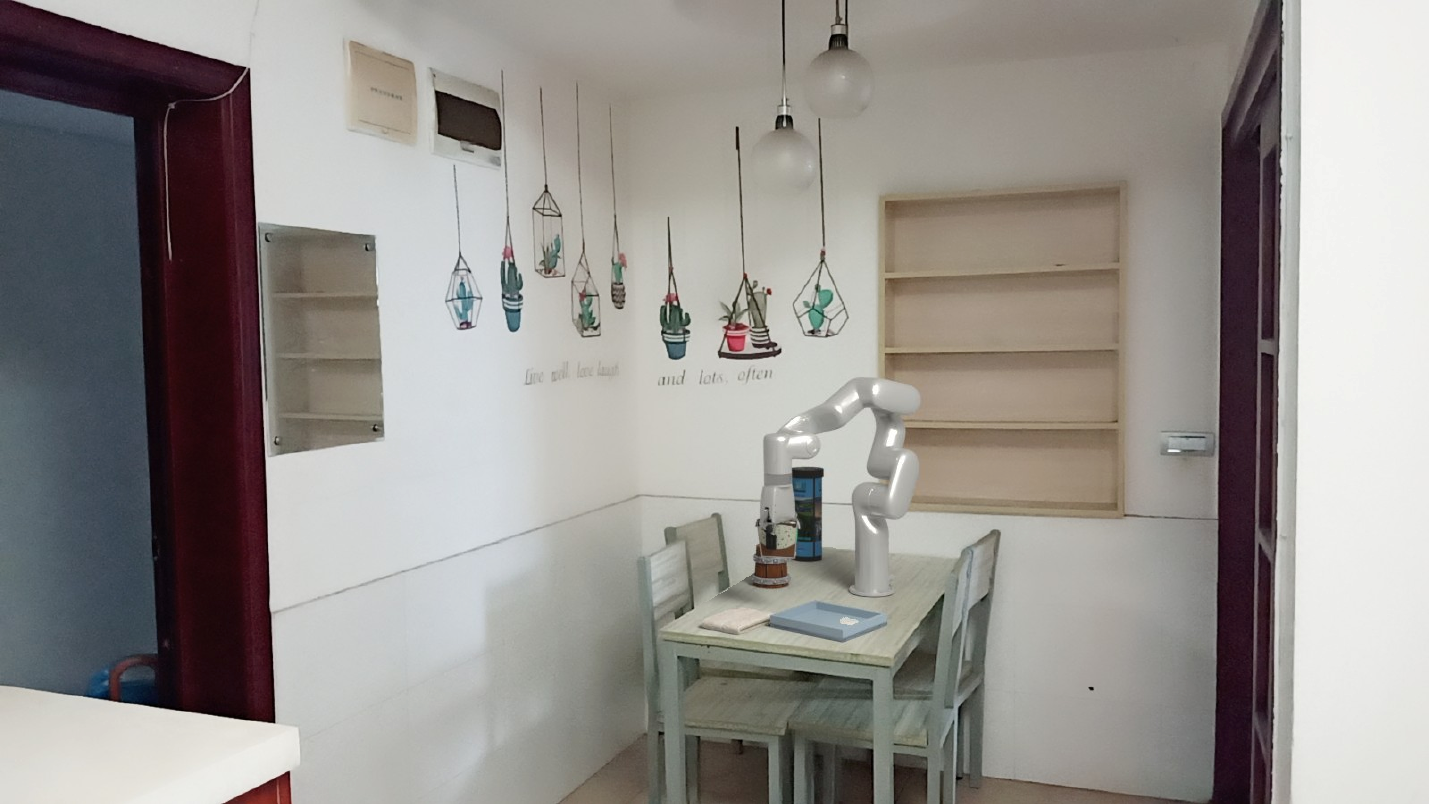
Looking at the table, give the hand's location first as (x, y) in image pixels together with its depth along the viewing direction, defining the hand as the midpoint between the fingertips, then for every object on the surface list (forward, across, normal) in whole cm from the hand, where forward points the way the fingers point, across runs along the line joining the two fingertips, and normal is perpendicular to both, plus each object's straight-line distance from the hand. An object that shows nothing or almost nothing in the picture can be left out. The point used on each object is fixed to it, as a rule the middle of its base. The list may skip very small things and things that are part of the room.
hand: (779, 546), depth 282 cm
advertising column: (+19, -60, -34) cm, 72 cm away
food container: (+3, -1, 0) cm, 3 cm away
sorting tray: (+17, +5, +19) cm, 26 cm away
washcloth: (+18, +18, 0) cm, 25 cm away
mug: (+18, -24, -21) cm, 37 cm away
